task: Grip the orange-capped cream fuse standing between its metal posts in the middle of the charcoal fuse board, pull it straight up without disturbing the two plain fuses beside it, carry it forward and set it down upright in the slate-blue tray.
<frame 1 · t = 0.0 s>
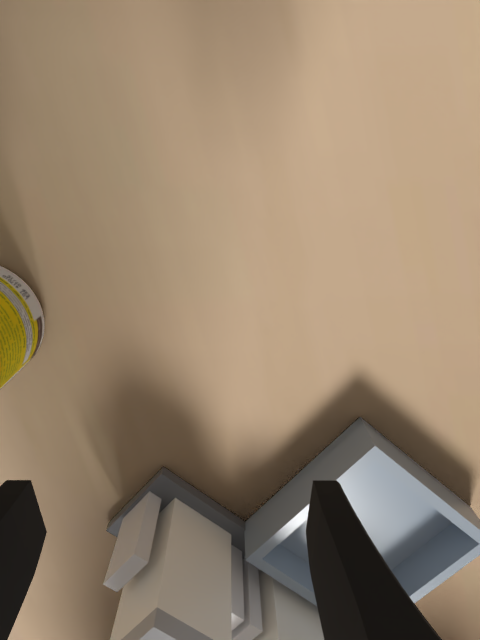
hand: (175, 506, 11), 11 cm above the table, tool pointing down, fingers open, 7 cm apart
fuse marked: (275, 593, 26), point 1 cm above the table, touching fuse board
fuse 2: (183, 535, 24), point 1 cm above the table, touching fuse board
fuse board: (274, 584, 27), on the table
tray: (357, 515, 25), on the table
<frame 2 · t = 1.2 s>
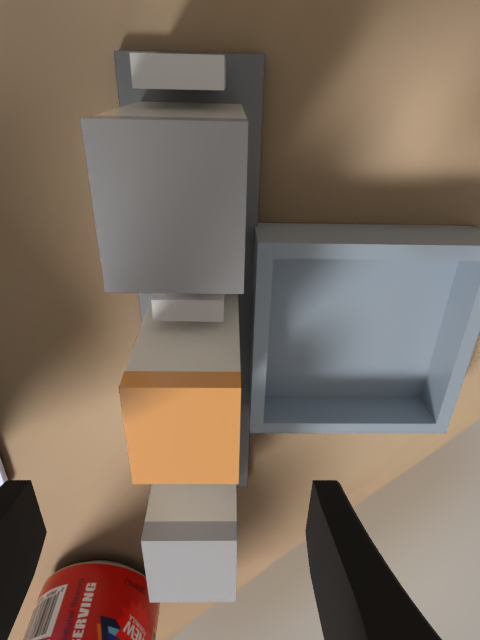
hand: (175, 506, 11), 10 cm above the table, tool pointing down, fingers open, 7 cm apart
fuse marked: (197, 326, 20), point 1 cm above the table, touching fuse board
soda can: (105, 581, 30), on the table
fuse 1: (201, 441, 23), point 1 cm above the table, touching fuse board
fuse 2: (192, 162, 16), point 1 cm above the table, touching fuse board
fuse board: (198, 319, 20), on the table
tray: (349, 321, 20), on the table
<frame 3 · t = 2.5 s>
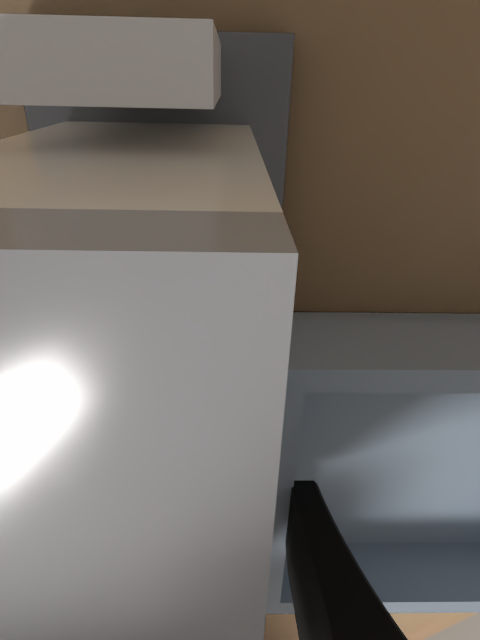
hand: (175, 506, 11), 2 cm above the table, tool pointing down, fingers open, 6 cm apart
fuse 2: (165, 225, 9), point 1 cm above the table, touching fuse board
fuse board: (182, 444, 13), on the table
tray: (409, 444, 13), on the table
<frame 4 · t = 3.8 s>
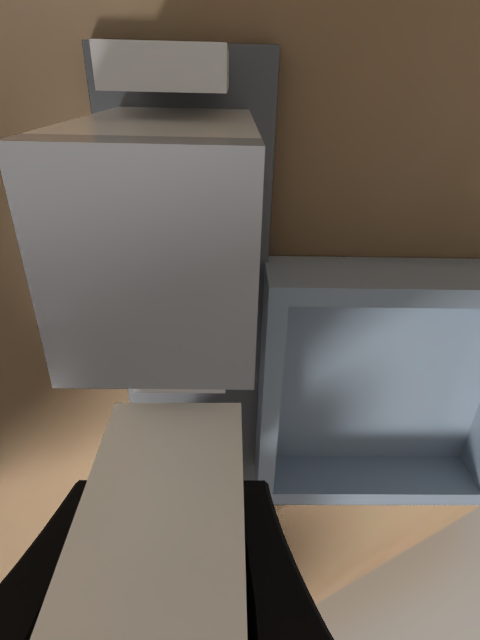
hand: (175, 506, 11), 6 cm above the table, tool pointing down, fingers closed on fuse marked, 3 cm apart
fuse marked: (182, 454, 13), point 4 cm above the table, touching gripper
fuse 2: (186, 184, 13), point 1 cm above the table, touching fuse board
fuse board: (195, 368, 17), on the table
tray: (377, 369, 17), on the table
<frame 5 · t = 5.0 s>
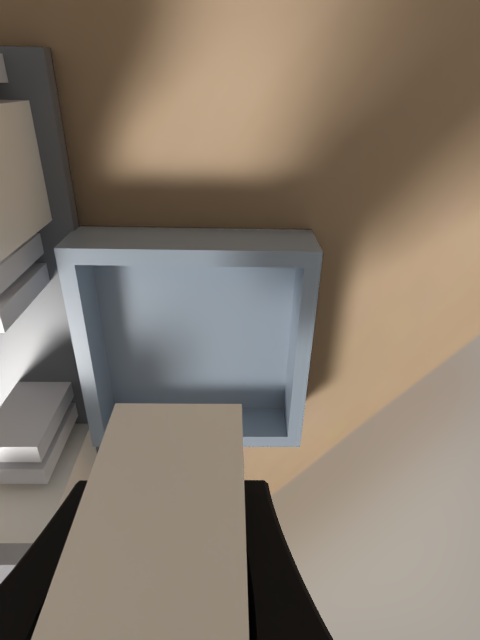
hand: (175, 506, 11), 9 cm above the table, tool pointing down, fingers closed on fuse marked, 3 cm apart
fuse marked: (181, 455, 13), point 7 cm above the table, touching gripper
fuse 1: (62, 453, 22), point 1 cm above the table, touching fuse board
fuse board: (38, 327, 19), on the table
tray: (197, 329, 19), on the table
when the fingers open (4 cm above the table, at t = 6.6 s): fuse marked drops 1 cm, resting on tray.
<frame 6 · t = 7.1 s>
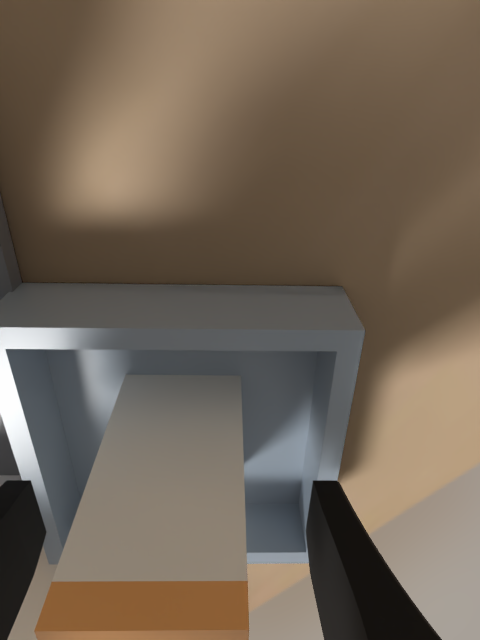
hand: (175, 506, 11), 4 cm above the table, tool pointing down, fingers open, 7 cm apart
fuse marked: (185, 424, 14), point 1 cm above the table, touching tray
fuse 1: (17, 554, 17), point 1 cm above the table, touching fuse board
tray: (187, 409, 15), on the table
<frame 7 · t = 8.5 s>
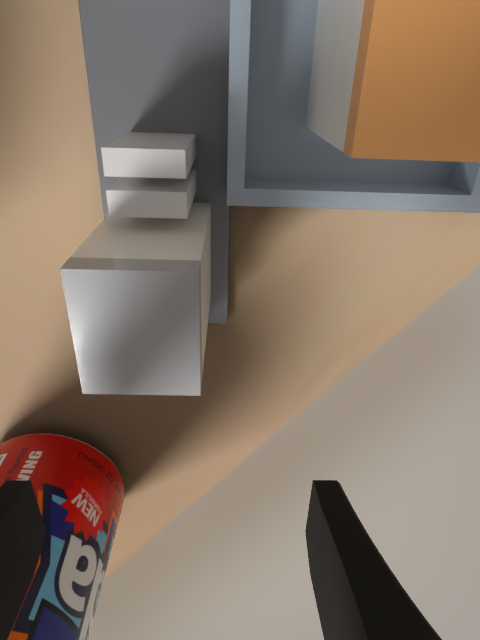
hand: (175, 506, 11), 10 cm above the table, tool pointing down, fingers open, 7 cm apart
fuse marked: (362, 65, 15), point 1 cm above the table, touching tray
soda can: (61, 469, 25), on the table
fuse 1: (168, 249, 18), point 1 cm above the table, touching fuse board
fuse board: (161, 53, 15), on the table
tray: (359, 61, 15), on the table
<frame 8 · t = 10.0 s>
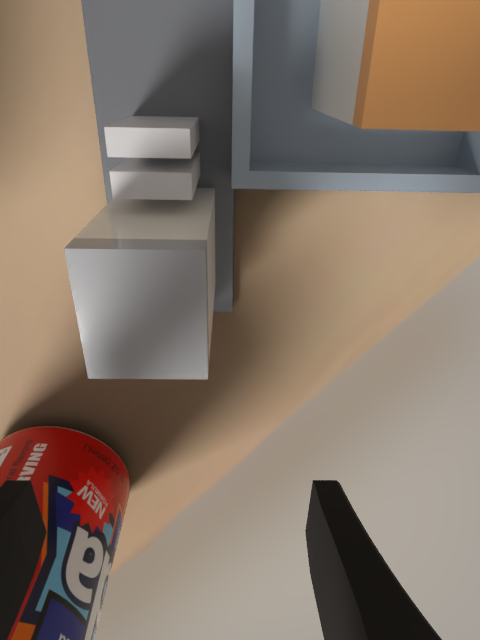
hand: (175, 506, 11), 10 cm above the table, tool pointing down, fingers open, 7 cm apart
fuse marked: (368, 44, 15), point 1 cm above the table, touching tray
soda can: (66, 463, 25), on the table
fuse 1: (172, 236, 18), point 1 cm above the table, touching fuse board
fuse board: (163, 35, 15), on the table
tray: (364, 40, 15), on the table
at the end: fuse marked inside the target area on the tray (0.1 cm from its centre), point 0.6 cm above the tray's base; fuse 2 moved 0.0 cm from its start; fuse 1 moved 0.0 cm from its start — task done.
